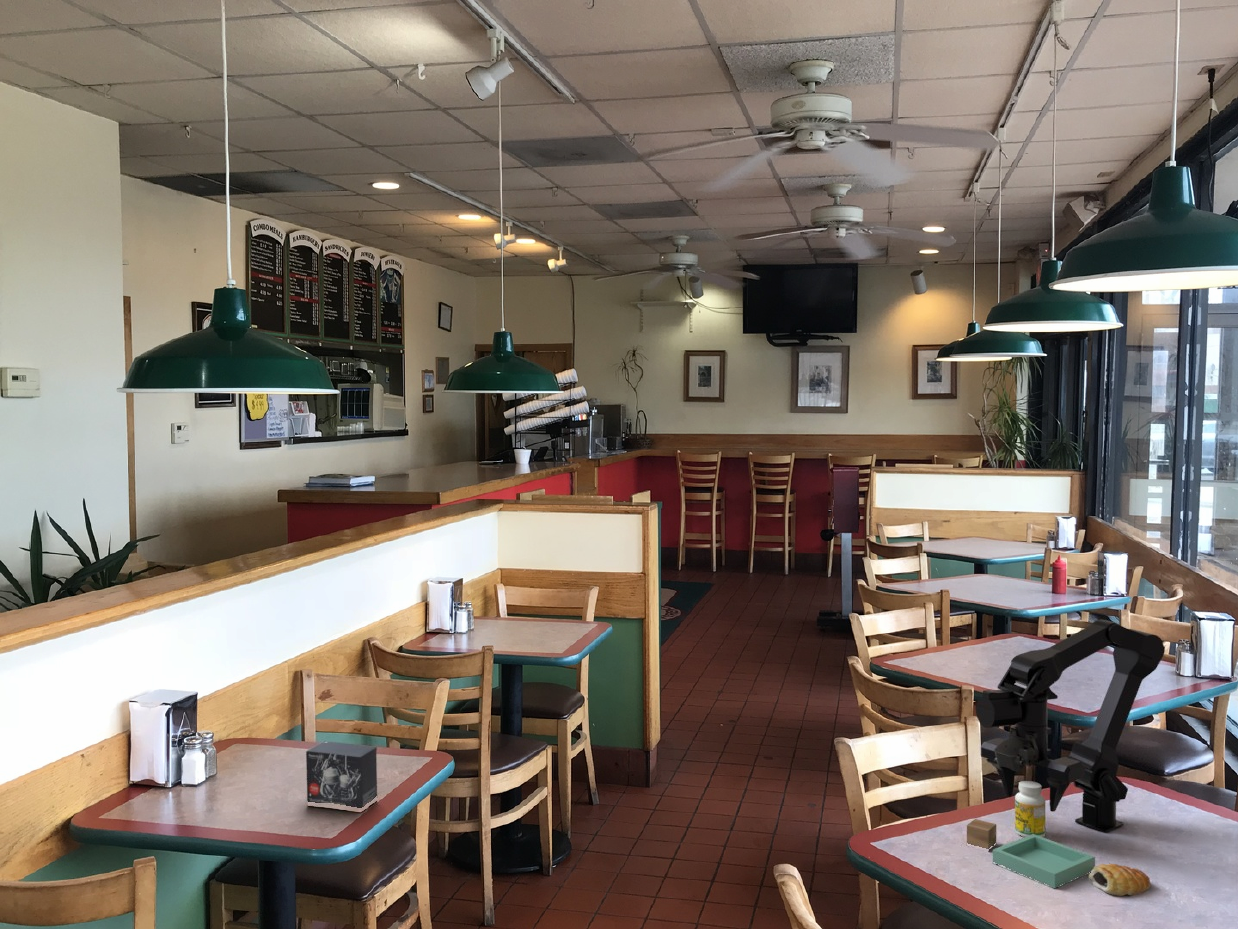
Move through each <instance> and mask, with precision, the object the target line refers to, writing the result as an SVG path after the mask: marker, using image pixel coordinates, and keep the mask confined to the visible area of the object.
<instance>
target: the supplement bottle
mask: <svg viewBox="0 0 1238 929" xmlns="http://www.w3.org/2000/svg"><path fill="white" fill-rule="evenodd" d="M1018 791H1019V792H1017V793H1016V794H1015V795H1014V811H1015V812H1014V832H1015V834H1017V835H1018V834H1019V835H1018V836H1020V835H1021V836H1020V837H1022V836H1023V837H1022V838H1024V837H1027V836H1029V835H1032V834H1035V835H1038V836H1040V837H1043V838H1045V836H1046V799H1045V797H1044V796H1043V795H1042V792H1043V791H1042V785H1041V784H1040V783H1038V782H1036V781H1032V780H1021V781H1020V782H1018Z"/></svg>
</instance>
